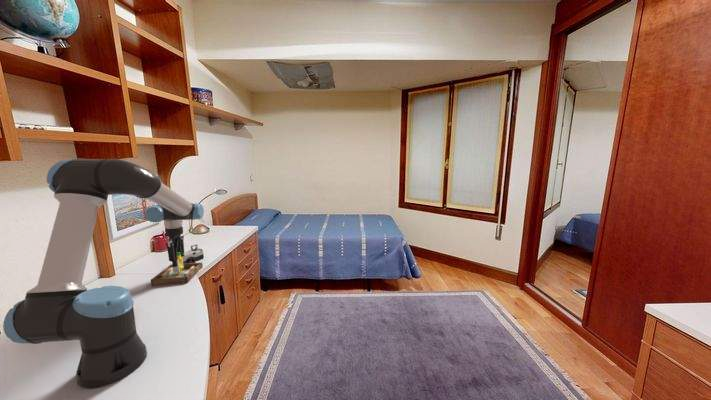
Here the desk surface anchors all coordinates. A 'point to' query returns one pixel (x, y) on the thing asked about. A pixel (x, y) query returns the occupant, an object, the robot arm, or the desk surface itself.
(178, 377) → the desk surface
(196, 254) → the camera
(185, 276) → the walled box
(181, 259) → the toy figure
